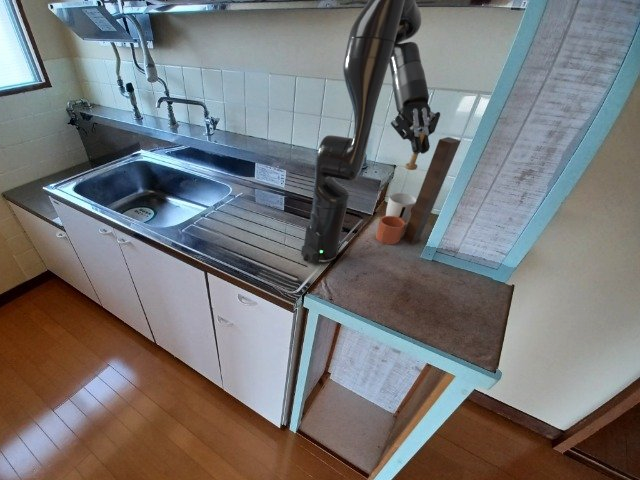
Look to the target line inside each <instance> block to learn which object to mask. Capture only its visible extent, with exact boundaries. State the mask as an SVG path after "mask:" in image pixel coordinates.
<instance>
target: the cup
mask: <svg viewBox="0 0 640 480" xmlns="http://www.w3.org/2000/svg"><path fill="white" fill-rule="evenodd" d="M416 200H417V197H415V196H413V195H412V194H409V193H405V192H396V193H392V194H390V195H389V197H388V202H387V205H386V211H385V216H396V217H399V218H401V219H403V220H404V221H405V223H408V221H409V219H410V216H411V214H412V211H413V208H414V206H415V203H416Z"/></svg>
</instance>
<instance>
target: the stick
mask: <svg viewBox="0 0 640 480" xmlns="http://www.w3.org/2000/svg"><path fill="white" fill-rule="evenodd" d="M424 136H425V132H420V133H419V136H418V137H420V140H421V145H422V142H423V139H424ZM418 156H419V154H414V152H413V151H412V154H411V157H410V160H409V162H408V163H406V164H405V165H404V168H405V169H406V170H409V171H416V170H417V169H418V164H417V163H416V162H417V159H418Z"/></svg>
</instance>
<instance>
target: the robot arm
mask: <svg viewBox="0 0 640 480" xmlns="http://www.w3.org/2000/svg"><path fill="white" fill-rule="evenodd" d="M421 25H422V15H421V10H420V8H419V6H418V4H417V1H416V0H368V1H367V3H366V4H365V6H364V7H363V8H362V10H361V11H360V13H359V14H358V15H357V17H356V19H355V21H354V22H353V23H352V27H351V29H350V32H349V35H348V40H347V44H346V49H345V54H344V59H343V64H342V73H343V79H344V83H345V87H346V89H347V93H348V96H349V99H350V103H351V106H352V112H353V119H354V120H353V121H354V126H353V137H346V136H339V135H331V134H329V135H326V136H324V137H323V138H322V139H321V141H320V143H319V146H318V150H317V154H316V161H315V172H314V182H313V190H312V191H313V196H312V197H313V198H312V204H311V211H310V216H309V217H310V218H309V224H308V225H306V227H305V236H304V243H303V245H302V246H301V251H300V252H301V253H300V255H301V256H303V257H302V258H303V261H304V262H307V263H308V262H310V263H314V264H317V263H323V264H324V263H330V262H333V261H334V260H335V259H336V258H337V255H338V251H339V250H338V249H339V246H340V240H341V235H342V232H343V227H344V222H345V217H346V214H347V213H346V212H347V208H348V204H349V199H350V192H349V190H348V189H347V188H346V187H345V186H343V185H341V184H340V183H339V182H338V181H337V180H336V179H338V180H343V181H351V182H352V181H354V180H356V179H357V178H358V176H359V175H360V173H361V171H362V168H363V166H364V162H365V158H366V153H367V149H368V144H369V140H370V135H371V131H372V126H373V122H374V117H375V114H376V113H375V112H376V109H377V105H378V100H379V98H380V94H381V92H382V91H381V90H382V87H383V84H384V81H385V77H386V74H387V71H388V67H389V69H390V75H391V83H392V84H391V85H392V92H393V97H394V102H395V107H396V111H397V116H396V117H394V118H393V119H392V120H391V121H390V125H391V127H392V128H394V131H396V133H397V134H398V135H399V136H400V137H401V139H402V140H408V141H409V142H410V145H411V150H412V153H413V152H414V154H418V155H419V154H422V155H423V154H426V153H427V152H428V151H429V150H430V148H431V147H430V146H431V144H430V139H429V136H431V135H432V134H433V133H435V131H436V129H437V126H438V123H439V120H440V118H441V112H439V111H437V112H433V111H432V109H431V106H430V105H429V98H430V93H429V90H428V84H427V79H426V73H425V71H424V68H423V64H422V58H421V54H420V53H421V52H420V49H419V46H418V44H417V43H416V42H415V41H407V40H409V39H411V38H413V37H415V36H416V35H417V34H418V32H419V30H420V29H421ZM406 41H407V42H406ZM420 132H425V136H424V139H423V142H422V145H421V140H420V137H418V136H419V133H420Z"/></svg>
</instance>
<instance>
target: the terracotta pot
mask: <svg viewBox="0 0 640 480" xmlns="http://www.w3.org/2000/svg"><path fill="white" fill-rule="evenodd" d="M406 223H407V222H406ZM406 223H405V221H404V220H403V219H401V218H399V217H396V216H386V215H384V216H382V217H380V219H379V221H378V225H377V228H376V232H375V239H376V240H377V241H378V242H379V243H382V244H385V245H396V244H397V243H399V241H400V240H401V239H402V237H403V234H404V231H405V228H406V226H407V224H406Z"/></svg>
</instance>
